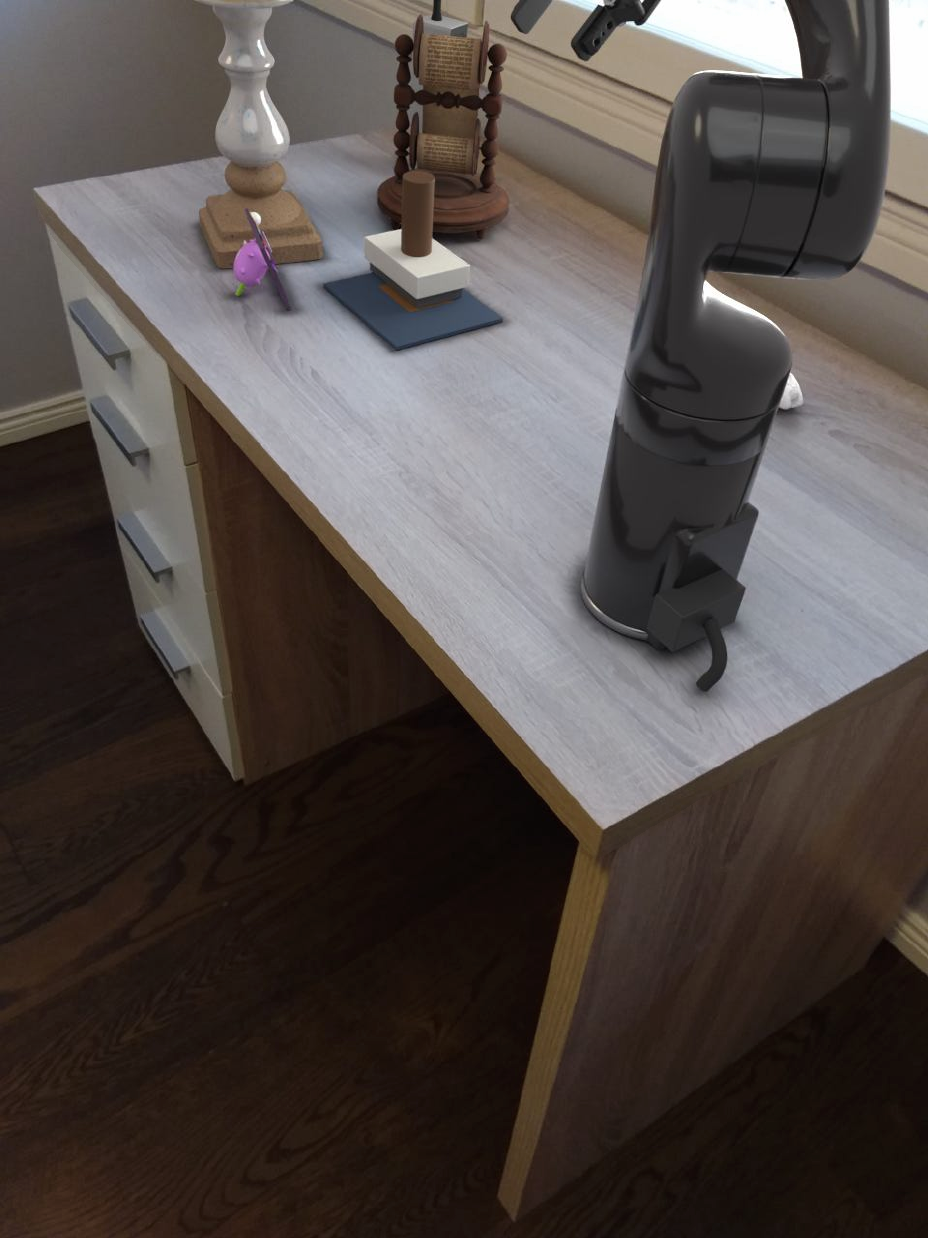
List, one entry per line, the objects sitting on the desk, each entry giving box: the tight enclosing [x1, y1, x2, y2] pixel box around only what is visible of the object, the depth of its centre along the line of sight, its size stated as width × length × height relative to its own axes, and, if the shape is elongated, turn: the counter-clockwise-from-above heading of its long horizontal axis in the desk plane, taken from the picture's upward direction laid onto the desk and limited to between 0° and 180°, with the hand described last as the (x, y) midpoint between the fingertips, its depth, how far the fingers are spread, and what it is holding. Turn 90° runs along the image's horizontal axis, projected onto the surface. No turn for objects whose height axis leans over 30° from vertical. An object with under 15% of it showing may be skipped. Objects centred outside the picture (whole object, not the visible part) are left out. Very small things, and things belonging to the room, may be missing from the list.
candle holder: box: [193, 0, 324, 269], centre depth 99 cm, size 11×11×24 cm
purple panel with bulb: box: [233, 208, 292, 311], centre depth 98 cm, size 7×5×9 cm
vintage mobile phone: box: [408, 0, 469, 170], centre depth 115 cm, size 4×5×25 cm
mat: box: [322, 271, 504, 351], centre depth 100 cm, size 14×12×1 cm
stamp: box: [363, 171, 471, 308], centre depth 99 cm, size 10×6×10 cm, turn 34°
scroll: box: [376, 14, 510, 241], centre depth 108 cm, size 15×15×20 cm
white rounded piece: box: [778, 372, 804, 410], centre depth 91 cm, size 3×8×3 cm, turn 17°
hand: (546, 39), depth 87 cm, fingers open, 8 cm apart
